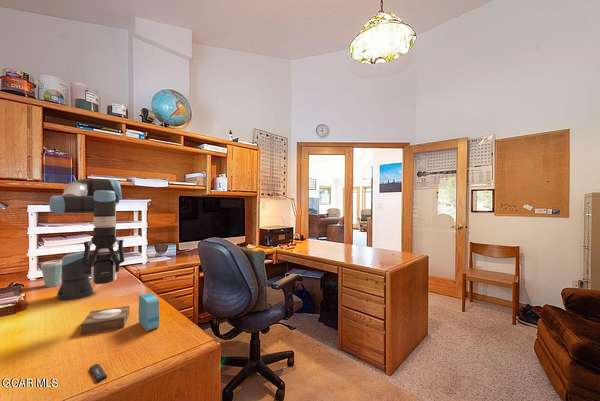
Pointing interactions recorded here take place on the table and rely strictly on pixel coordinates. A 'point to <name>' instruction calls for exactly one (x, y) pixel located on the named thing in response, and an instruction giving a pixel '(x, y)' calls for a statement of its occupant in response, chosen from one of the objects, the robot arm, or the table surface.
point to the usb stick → (98, 372)
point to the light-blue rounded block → (149, 311)
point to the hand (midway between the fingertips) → (104, 280)
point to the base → (105, 320)
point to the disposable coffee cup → (52, 272)
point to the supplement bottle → (103, 269)
